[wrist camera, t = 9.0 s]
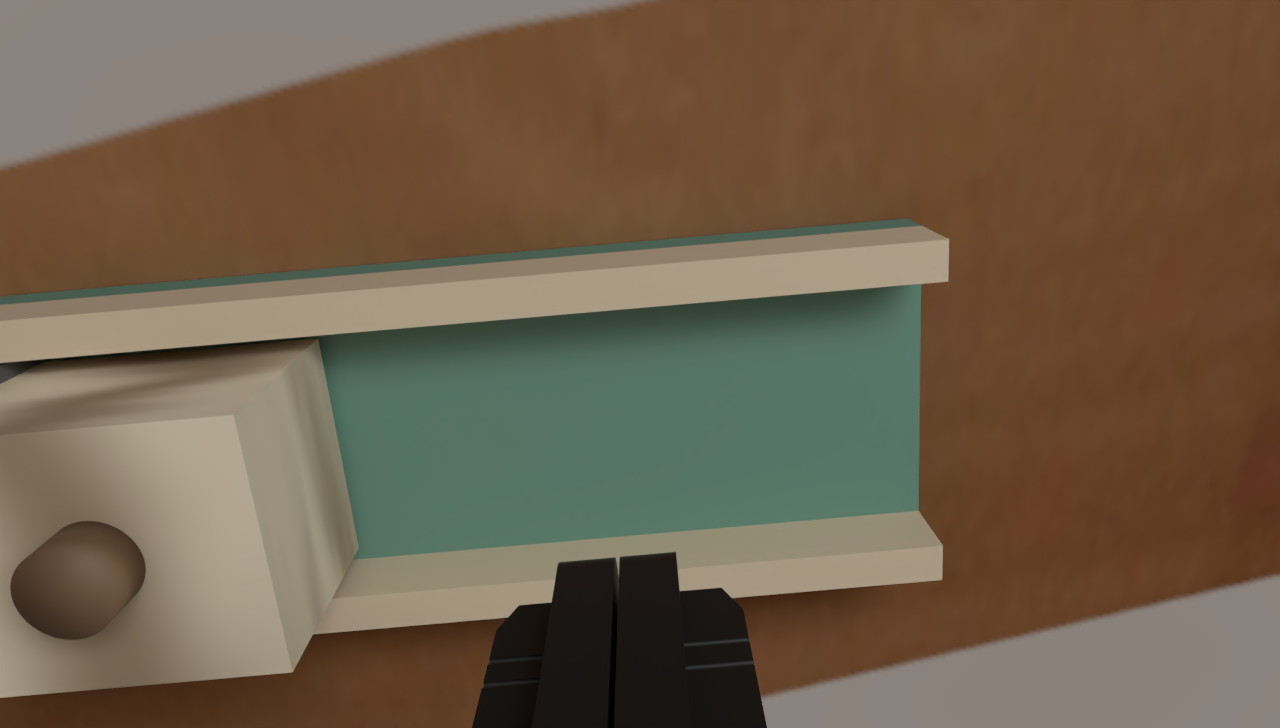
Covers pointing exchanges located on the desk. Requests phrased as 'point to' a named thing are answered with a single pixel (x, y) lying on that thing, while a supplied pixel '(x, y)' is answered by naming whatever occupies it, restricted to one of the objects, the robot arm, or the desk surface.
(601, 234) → the desk surface
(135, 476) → the cream knobbed cube
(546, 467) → the rail
